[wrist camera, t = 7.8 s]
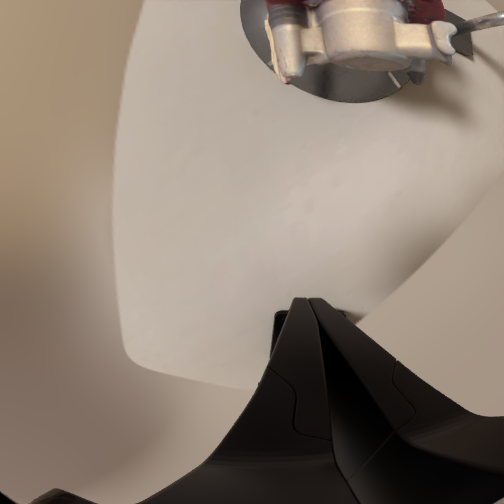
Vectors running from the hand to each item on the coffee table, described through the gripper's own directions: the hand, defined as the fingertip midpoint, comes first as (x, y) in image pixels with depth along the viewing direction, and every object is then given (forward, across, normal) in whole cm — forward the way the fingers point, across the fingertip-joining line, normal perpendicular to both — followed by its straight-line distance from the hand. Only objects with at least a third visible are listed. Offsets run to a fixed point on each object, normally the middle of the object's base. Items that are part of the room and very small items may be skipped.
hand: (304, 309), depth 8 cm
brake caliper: (+13, -4, -13) cm, 19 cm away
